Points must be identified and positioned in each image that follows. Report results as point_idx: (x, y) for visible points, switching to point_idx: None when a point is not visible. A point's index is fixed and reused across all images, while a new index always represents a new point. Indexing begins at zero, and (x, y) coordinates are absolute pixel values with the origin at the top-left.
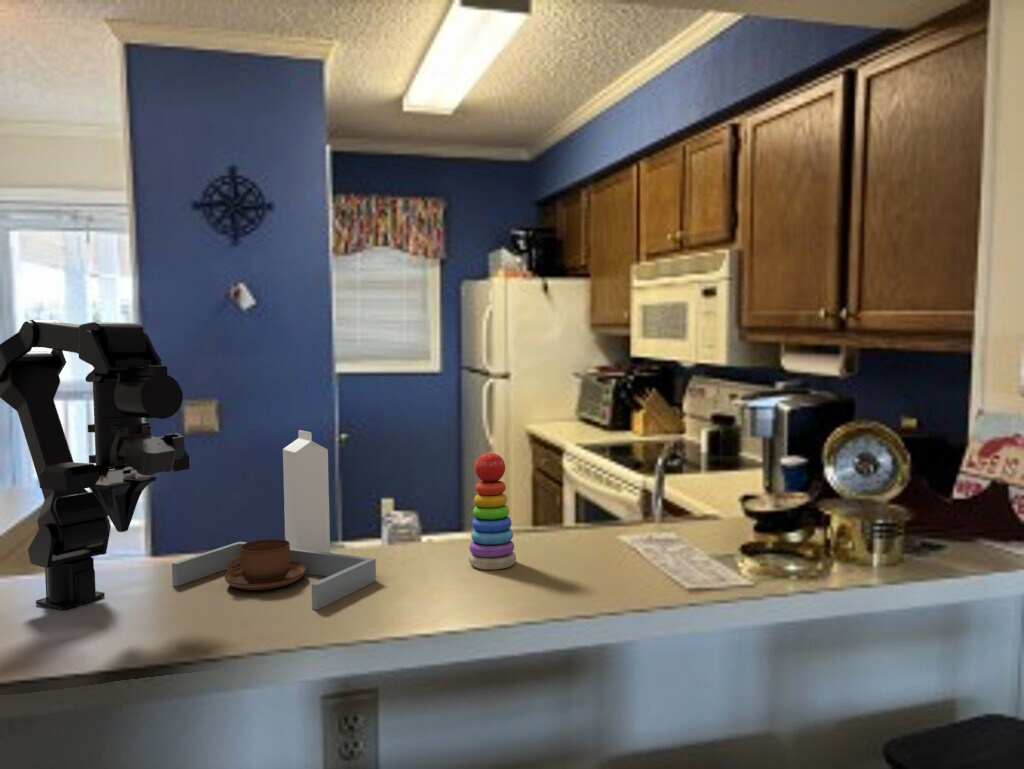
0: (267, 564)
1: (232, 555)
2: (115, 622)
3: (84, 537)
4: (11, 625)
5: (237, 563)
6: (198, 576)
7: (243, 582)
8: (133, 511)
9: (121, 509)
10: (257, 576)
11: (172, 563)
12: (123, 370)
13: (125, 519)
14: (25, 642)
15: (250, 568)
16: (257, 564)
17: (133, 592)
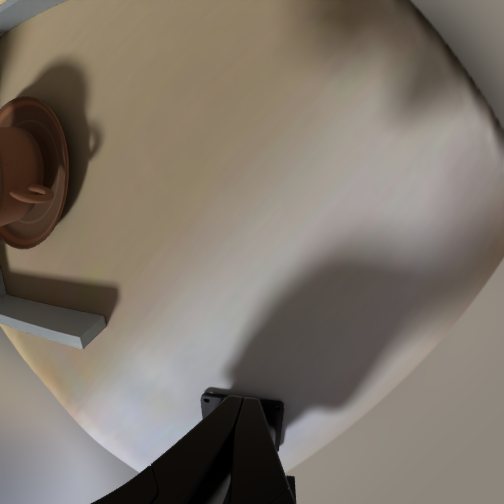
0: (11, 135)
1: (3, 304)
2: (298, 270)
3: (228, 494)
4: (360, 413)
5: (8, 296)
6: (63, 310)
7: (42, 205)
8: (177, 448)
9: (266, 485)
10: (35, 149)
11: (82, 347)
12: None
13: (238, 433)
14: (421, 335)
15: (26, 166)
16: (17, 150)
17: (162, 366)
